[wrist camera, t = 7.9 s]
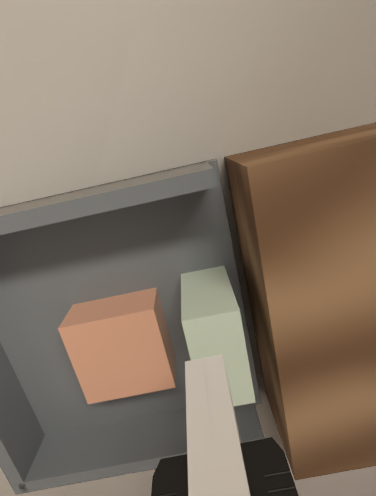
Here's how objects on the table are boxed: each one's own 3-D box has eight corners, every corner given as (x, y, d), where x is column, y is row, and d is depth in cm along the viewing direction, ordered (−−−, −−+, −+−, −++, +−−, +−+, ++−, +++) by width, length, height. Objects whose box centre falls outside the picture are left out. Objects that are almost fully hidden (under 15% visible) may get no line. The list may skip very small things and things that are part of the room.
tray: (-61, 221, 18) (-126, 244, 14) (215, 159, 17) (225, 165, 13) (42, 435, 23) (15, 494, 19) (258, 394, 22) (274, 446, 19)
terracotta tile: (153, 309, 16) (156, 287, 19) (57, 328, 17) (72, 304, 19) (175, 387, 18) (175, 358, 20) (88, 404, 18) (98, 373, 21)
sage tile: (224, 265, 18) (180, 274, 18) (239, 310, 14) (181, 321, 14) (237, 339, 20) (197, 347, 20) (255, 402, 15) (203, 412, 15)
